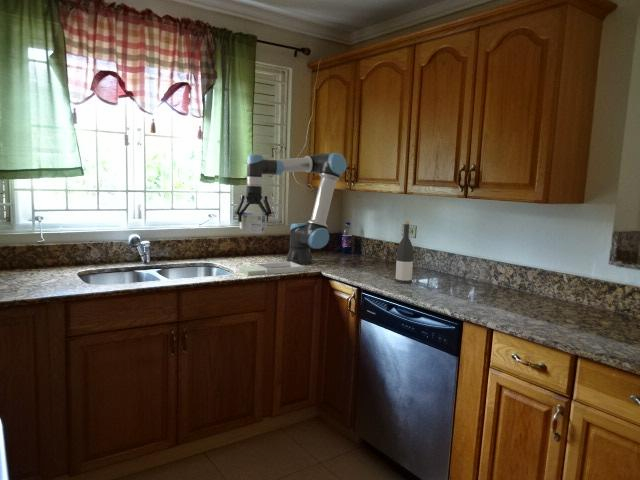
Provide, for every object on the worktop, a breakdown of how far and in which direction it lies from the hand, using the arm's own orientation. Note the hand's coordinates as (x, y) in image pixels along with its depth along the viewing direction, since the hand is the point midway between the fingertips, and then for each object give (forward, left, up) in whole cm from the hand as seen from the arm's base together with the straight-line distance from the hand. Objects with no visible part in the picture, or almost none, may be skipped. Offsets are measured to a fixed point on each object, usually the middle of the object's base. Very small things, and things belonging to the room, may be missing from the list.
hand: (253, 228), depth 249 cm
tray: (-16, -1, -23) cm, 28 cm away
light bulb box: (0, 0, -3) cm, 3 cm away
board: (0, 0, -23) cm, 23 cm away
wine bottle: (-59, +49, -23) cm, 80 cm away
